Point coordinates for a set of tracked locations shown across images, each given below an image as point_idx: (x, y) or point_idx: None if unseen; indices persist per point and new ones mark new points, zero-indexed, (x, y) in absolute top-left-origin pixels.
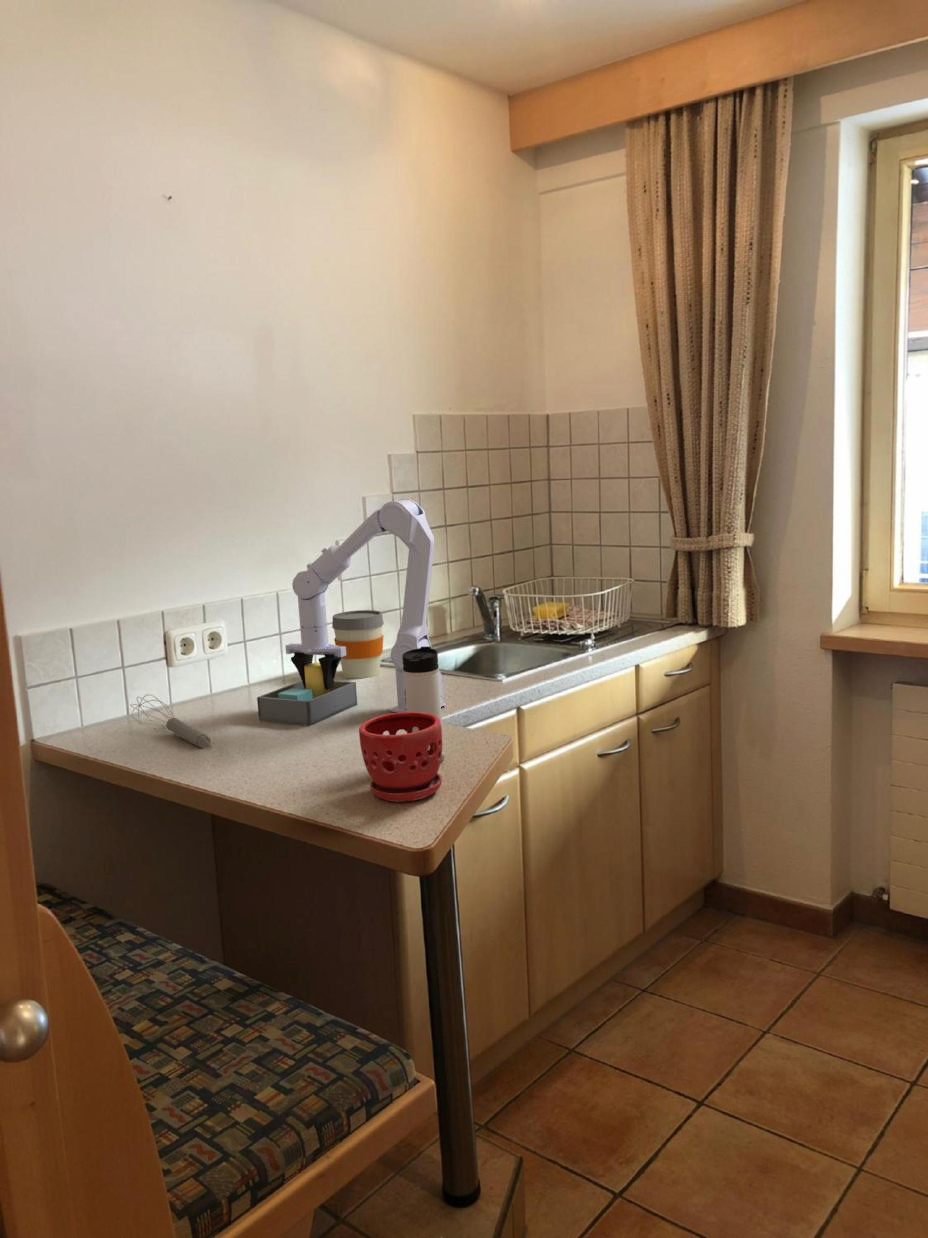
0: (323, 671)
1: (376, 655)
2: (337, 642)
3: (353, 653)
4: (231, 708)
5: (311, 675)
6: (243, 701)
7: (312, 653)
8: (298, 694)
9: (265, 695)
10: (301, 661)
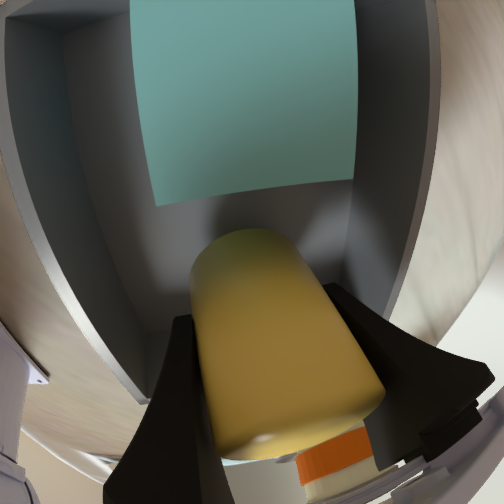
0: (182, 413)
1: (297, 457)
2: None
3: (333, 449)
4: (483, 138)
5: (271, 346)
6: (478, 203)
7: (358, 497)
8: (139, 18)
9: (427, 34)
10: (418, 407)
